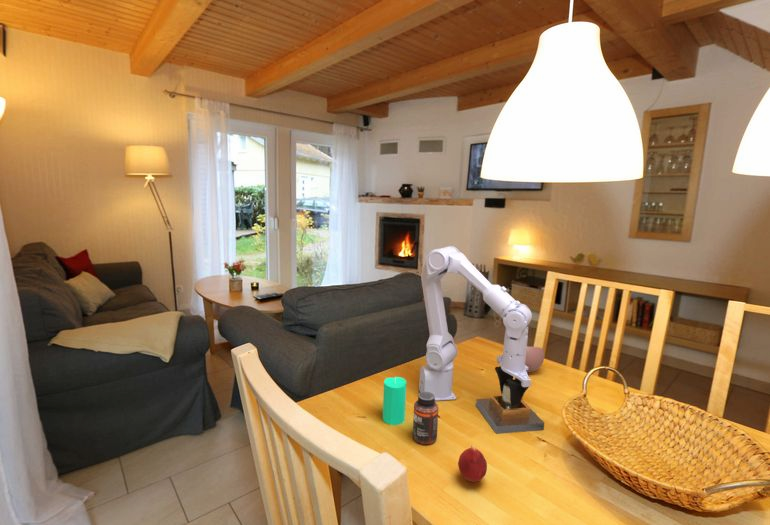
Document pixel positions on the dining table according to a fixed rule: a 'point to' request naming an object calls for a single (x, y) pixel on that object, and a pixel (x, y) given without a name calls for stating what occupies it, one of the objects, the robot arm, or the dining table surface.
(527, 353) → the mortar and pestle
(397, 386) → the candle
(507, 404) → the spout can
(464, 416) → the dining table surface
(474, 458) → the onion
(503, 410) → the wooden socket on base
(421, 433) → the supplement bottle
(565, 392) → the dining table surface
